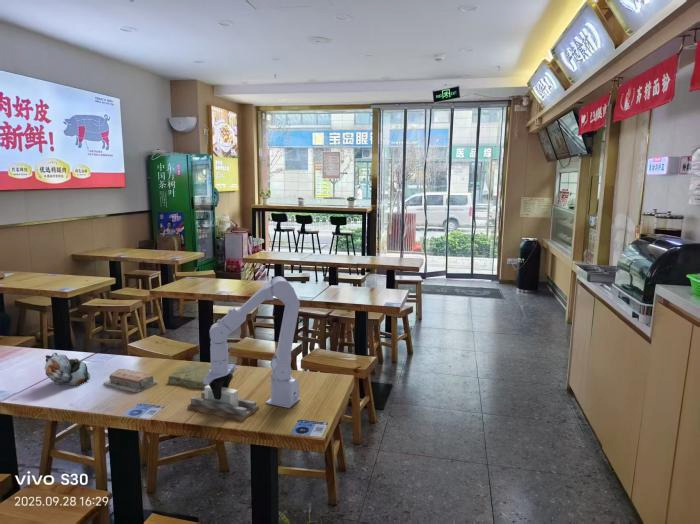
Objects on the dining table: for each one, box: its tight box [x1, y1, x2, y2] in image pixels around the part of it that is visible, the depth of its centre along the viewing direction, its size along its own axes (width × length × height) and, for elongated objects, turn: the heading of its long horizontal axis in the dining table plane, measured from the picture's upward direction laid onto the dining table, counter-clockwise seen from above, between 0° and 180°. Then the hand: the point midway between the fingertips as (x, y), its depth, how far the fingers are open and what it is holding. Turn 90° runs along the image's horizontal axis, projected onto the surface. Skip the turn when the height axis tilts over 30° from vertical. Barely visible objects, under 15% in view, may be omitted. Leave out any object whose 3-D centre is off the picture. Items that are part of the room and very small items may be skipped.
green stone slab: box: [167, 361, 235, 389], centre depth 187 cm, size 19×20×4 cm
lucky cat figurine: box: [44, 352, 91, 386], centre depth 180 cm, size 15×12×14 cm
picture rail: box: [187, 390, 260, 422], centre depth 161 cm, size 22×10×3 cm, turn 67°
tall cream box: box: [203, 385, 239, 407], centre depth 161 cm, size 12×3×6 cm, turn 67°
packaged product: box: [103, 368, 158, 394], centre depth 180 cm, size 18×5×10 cm
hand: (220, 397), depth 161 cm, fingers closed on tall cream box, 3 cm apart
